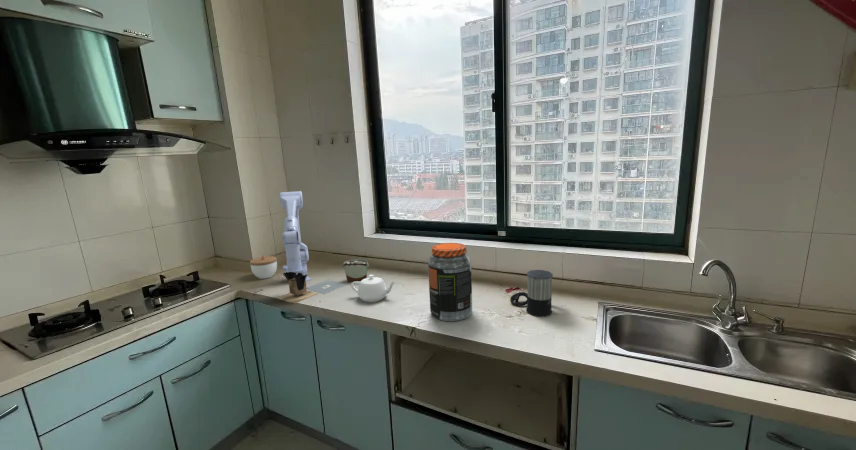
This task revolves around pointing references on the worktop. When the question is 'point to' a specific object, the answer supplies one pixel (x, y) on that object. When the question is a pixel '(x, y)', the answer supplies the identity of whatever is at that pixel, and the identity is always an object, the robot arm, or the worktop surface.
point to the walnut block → (294, 288)
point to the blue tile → (326, 286)
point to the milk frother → (537, 293)
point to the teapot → (372, 289)
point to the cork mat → (296, 297)
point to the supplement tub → (450, 282)
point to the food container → (355, 270)
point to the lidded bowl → (264, 266)
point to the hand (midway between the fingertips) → (296, 288)
